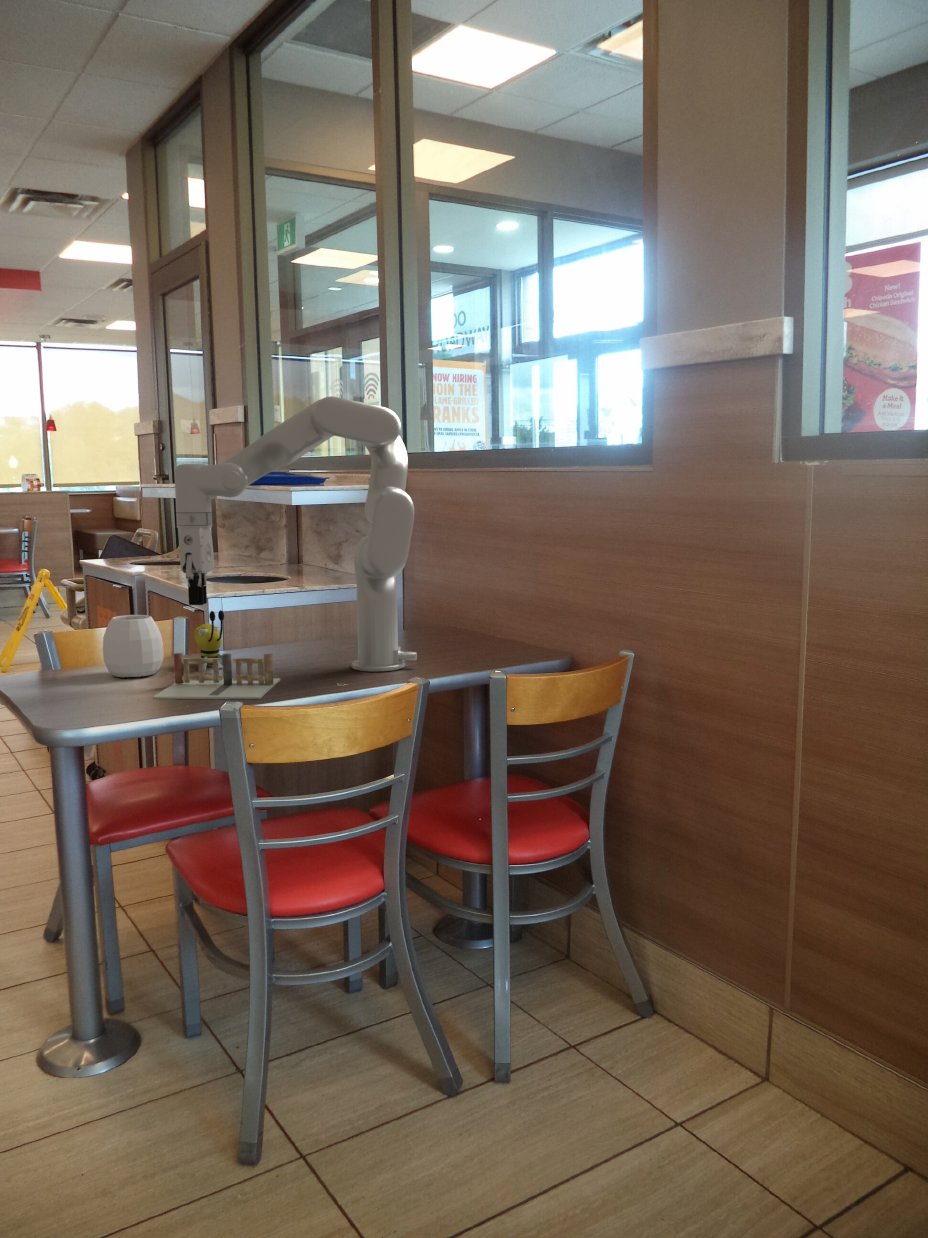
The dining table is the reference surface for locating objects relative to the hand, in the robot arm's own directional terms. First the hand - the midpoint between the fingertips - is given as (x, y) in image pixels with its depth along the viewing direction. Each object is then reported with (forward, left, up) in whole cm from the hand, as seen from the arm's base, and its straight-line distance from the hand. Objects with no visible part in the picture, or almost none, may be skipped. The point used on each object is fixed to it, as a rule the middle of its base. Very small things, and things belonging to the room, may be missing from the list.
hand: (198, 603), depth 214 cm
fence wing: (-2, +7, -16) cm, 18 cm away
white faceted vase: (+17, -5, -17) cm, 25 cm away
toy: (+2, -15, -17) cm, 23 cm away
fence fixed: (-12, +7, -17) cm, 22 cm away
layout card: (-7, +10, -17) cm, 21 cm away
